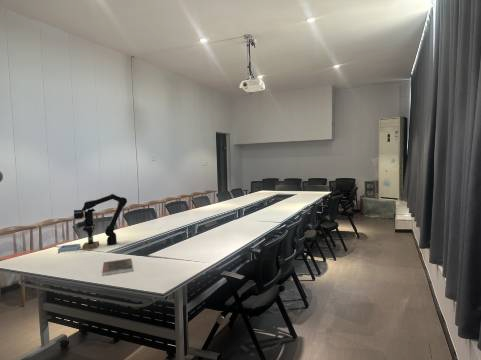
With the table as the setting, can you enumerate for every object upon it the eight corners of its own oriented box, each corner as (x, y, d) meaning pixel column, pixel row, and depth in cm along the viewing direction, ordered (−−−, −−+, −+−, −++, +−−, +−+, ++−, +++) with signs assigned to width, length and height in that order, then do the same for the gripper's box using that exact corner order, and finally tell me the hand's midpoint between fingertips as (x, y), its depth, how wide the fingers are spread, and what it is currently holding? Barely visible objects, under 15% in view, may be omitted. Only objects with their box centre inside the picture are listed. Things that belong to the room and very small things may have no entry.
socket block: (99, 245, 249) (98, 241, 249) (97, 248, 240) (97, 244, 239) (85, 247, 246) (85, 242, 246) (82, 250, 237) (82, 245, 237)
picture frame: (132, 271, 185) (131, 261, 205) (132, 267, 184) (131, 257, 204) (102, 276, 179) (103, 265, 199) (101, 272, 178) (103, 261, 199)
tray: (80, 247, 246) (80, 243, 246) (77, 251, 235) (77, 247, 235) (62, 249, 242) (61, 245, 242) (58, 253, 232) (57, 249, 231)
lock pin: (93, 242, 245) (92, 229, 244) (92, 243, 242) (92, 230, 241) (88, 243, 244) (87, 230, 243) (87, 244, 241) (87, 231, 240)
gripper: (79, 216, 248) (81, 236, 249) (74, 220, 230) (76, 241, 231) (95, 215, 251) (96, 234, 252) (91, 219, 234) (92, 239, 234)
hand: (90, 237), depth 243 cm, fingers closed on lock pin, 3 cm apart
